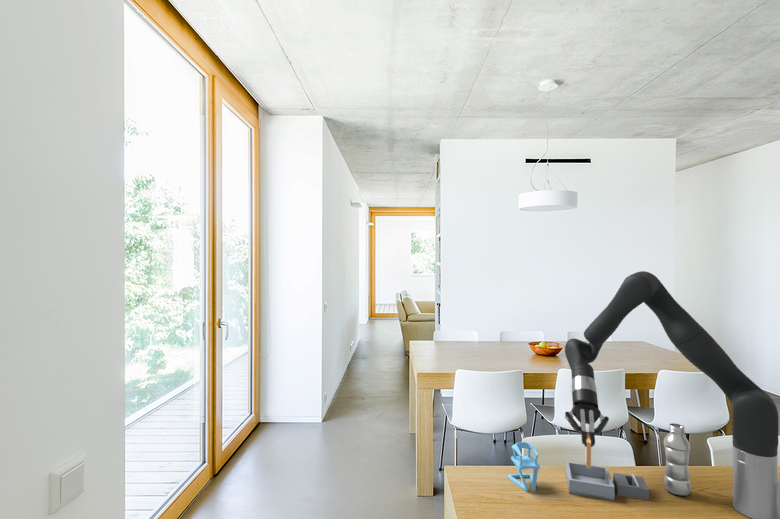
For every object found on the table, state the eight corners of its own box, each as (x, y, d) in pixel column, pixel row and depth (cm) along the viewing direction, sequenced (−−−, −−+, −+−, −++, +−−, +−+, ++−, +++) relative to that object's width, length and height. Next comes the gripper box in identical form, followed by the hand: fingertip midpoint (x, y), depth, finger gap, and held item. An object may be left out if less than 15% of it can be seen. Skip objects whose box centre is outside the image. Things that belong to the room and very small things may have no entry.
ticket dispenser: (642, 486, 125) (642, 474, 125) (649, 500, 118) (648, 487, 118) (613, 482, 128) (613, 470, 128) (617, 495, 120) (617, 482, 120)
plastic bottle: (695, 500, 118) (695, 431, 118) (669, 497, 119) (669, 429, 119) (684, 488, 124) (684, 422, 124) (659, 485, 125) (659, 420, 126)
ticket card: (589, 457, 130) (589, 432, 127) (590, 469, 126) (591, 442, 123) (584, 457, 130) (585, 431, 127) (586, 468, 126) (586, 442, 123)
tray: (607, 480, 129) (607, 467, 129) (614, 500, 117) (614, 487, 117) (566, 473, 133) (566, 461, 133) (569, 493, 121) (569, 479, 121)
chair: (518, 492, 122) (518, 452, 122) (507, 477, 130) (507, 440, 130) (543, 490, 123) (543, 451, 123) (530, 476, 131) (531, 438, 131)
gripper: (562, 385, 135) (565, 437, 124) (608, 389, 131) (615, 444, 119) (561, 396, 140) (564, 447, 129) (605, 401, 136) (612, 454, 124)
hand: (588, 445), depth 124 cm, fingers closed on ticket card, 1 cm apart
